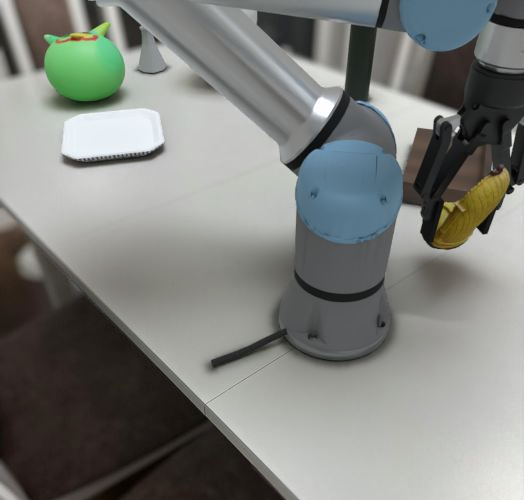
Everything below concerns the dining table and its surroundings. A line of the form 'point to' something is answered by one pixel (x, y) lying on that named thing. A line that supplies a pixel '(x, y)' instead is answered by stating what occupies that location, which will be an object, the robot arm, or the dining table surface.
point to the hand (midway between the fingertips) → (453, 232)
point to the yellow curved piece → (470, 210)
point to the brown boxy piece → (463, 180)
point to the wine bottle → (360, 61)
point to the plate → (112, 135)
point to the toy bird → (84, 64)
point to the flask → (150, 54)
